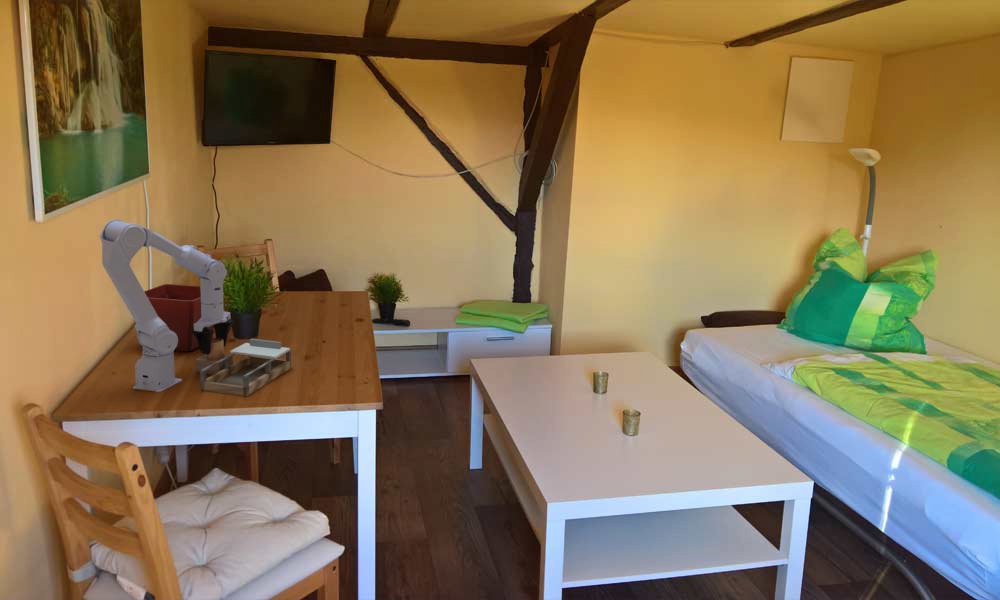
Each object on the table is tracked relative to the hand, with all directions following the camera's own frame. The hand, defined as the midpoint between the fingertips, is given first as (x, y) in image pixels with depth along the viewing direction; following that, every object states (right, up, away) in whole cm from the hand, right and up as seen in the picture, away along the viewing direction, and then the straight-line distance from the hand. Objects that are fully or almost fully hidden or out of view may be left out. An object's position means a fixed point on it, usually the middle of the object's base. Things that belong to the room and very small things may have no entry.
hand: (213, 349), depth 203 cm
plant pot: (-19, 0, +23) cm, 30 cm away
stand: (0, -6, +1) cm, 6 cm away
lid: (+12, -1, +1) cm, 13 cm away
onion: (-5, -3, +12) cm, 14 cm away
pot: (0, -2, 0) cm, 2 cm away
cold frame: (+11, -8, -4) cm, 14 cm away
